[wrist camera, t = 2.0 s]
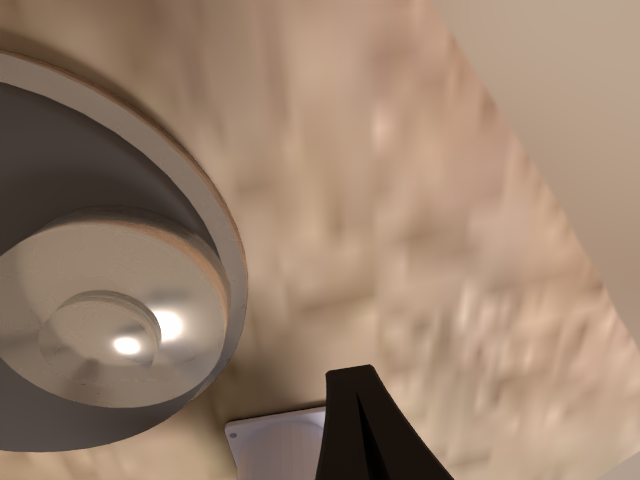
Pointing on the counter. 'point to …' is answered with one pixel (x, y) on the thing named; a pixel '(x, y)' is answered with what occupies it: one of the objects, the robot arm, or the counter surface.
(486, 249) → the counter surface
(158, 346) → the cover
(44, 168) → the turntable
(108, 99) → the base
